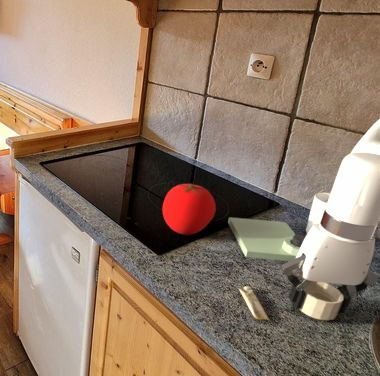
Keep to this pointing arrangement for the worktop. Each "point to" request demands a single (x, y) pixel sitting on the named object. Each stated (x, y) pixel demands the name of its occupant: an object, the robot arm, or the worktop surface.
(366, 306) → the worktop surface
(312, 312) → the bowl
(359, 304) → the worktop surface
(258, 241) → the scale
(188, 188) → the tomato
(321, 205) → the white cup
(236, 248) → the worktop surface
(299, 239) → the tare button
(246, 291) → the snack bar
